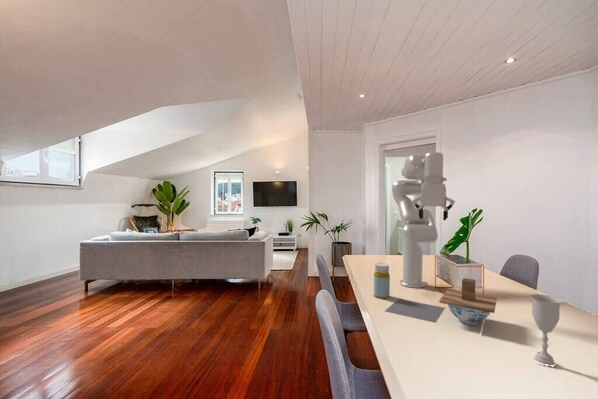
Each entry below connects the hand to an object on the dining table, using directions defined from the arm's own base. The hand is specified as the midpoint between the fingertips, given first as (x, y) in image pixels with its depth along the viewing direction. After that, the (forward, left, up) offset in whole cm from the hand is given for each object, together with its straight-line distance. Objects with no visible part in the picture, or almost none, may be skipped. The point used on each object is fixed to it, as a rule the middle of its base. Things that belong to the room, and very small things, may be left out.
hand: (432, 219), depth 137 cm
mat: (+16, -3, -36) cm, 40 cm away
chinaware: (+16, +16, -37) cm, 43 cm away
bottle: (+8, -20, -36) cm, 42 cm away
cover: (+16, +16, -29) cm, 37 cm away
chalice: (+36, +37, -36) cm, 63 cm away
